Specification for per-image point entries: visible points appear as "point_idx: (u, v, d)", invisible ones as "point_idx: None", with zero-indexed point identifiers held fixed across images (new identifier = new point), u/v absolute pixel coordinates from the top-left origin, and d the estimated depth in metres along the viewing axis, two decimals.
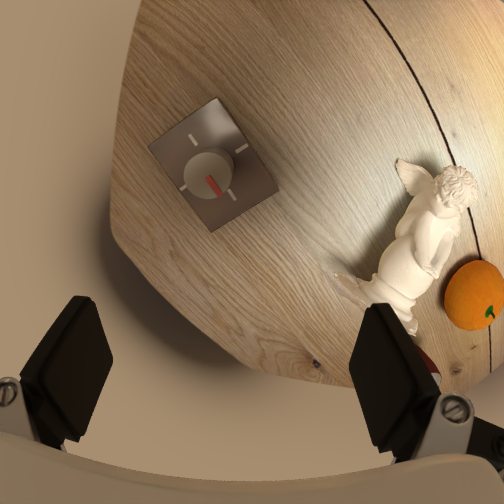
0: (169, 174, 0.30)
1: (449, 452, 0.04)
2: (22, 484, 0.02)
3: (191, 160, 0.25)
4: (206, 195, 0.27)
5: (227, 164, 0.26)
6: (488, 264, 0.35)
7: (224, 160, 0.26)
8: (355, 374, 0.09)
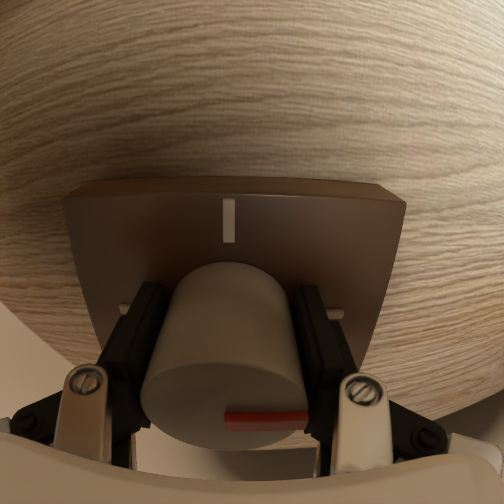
0: None
1: (372, 437, 0.05)
2: (22, 484, 0.02)
3: (151, 417, 0.07)
4: (275, 436, 0.07)
5: (226, 364, 0.06)
6: None
7: (204, 364, 0.06)
8: None
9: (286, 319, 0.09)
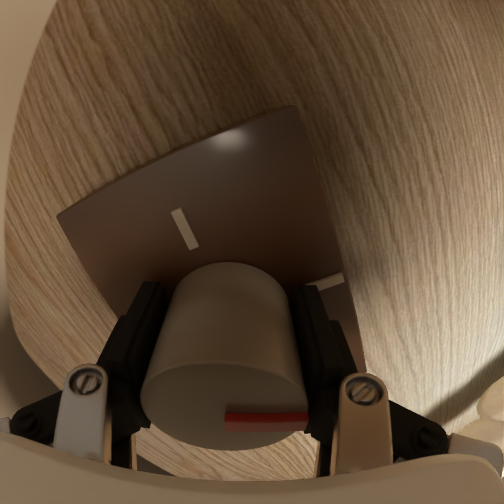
0: (109, 301, 0.11)
1: (372, 437, 0.05)
2: (22, 484, 0.02)
3: (150, 416, 0.07)
4: (274, 437, 0.07)
5: (228, 365, 0.06)
6: None
7: (207, 364, 0.06)
8: None
9: (287, 320, 0.09)
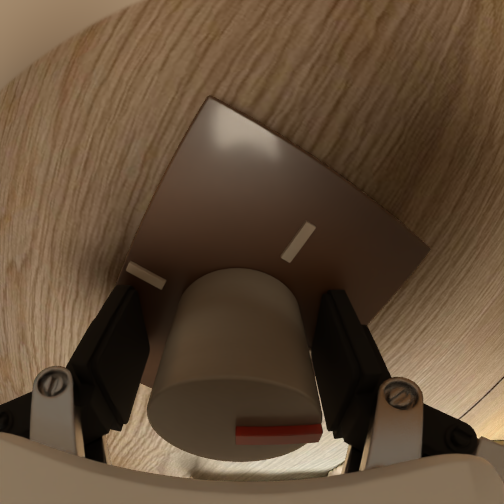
0: (151, 213, 0.09)
1: (403, 440, 0.05)
2: (22, 484, 0.02)
3: (158, 430, 0.07)
4: (287, 448, 0.07)
5: (239, 380, 0.06)
6: None
7: (216, 380, 0.06)
8: (315, 360, 0.10)
9: (299, 328, 0.08)
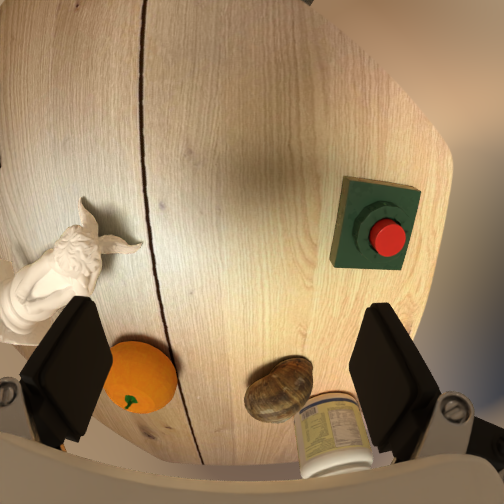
0: None
1: (449, 452, 0.04)
2: (22, 484, 0.02)
3: None
4: None
5: None
6: (155, 359, 0.37)
7: None
8: (355, 374, 0.09)
9: None
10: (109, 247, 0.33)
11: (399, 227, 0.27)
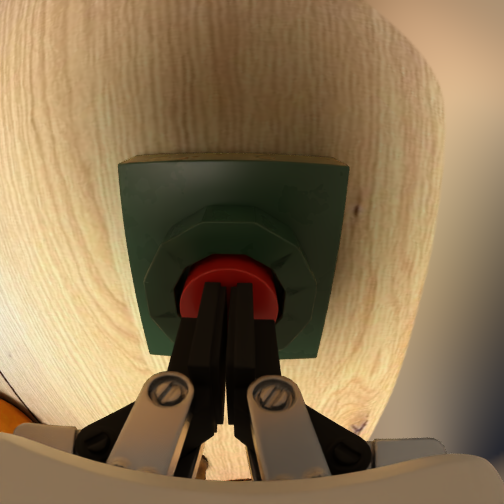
0: None
1: (295, 441, 0.05)
2: (22, 484, 0.02)
3: None
4: None
5: None
6: (3, 424, 0.19)
7: None
8: None
9: None
10: None
11: (246, 276, 0.10)
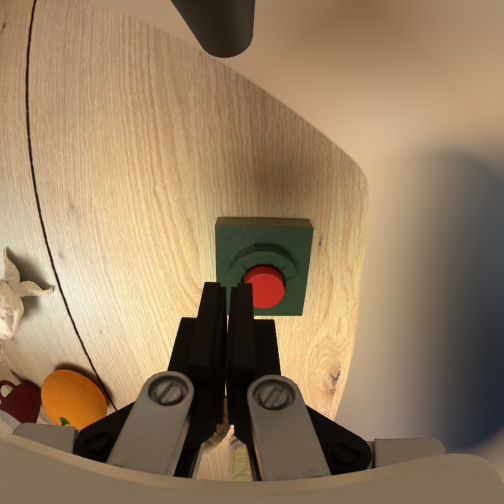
0: None
1: (295, 441, 0.05)
2: (22, 484, 0.02)
3: None
4: None
5: None
6: (80, 387, 0.35)
7: None
8: None
9: None
10: None
11: (272, 276, 0.26)
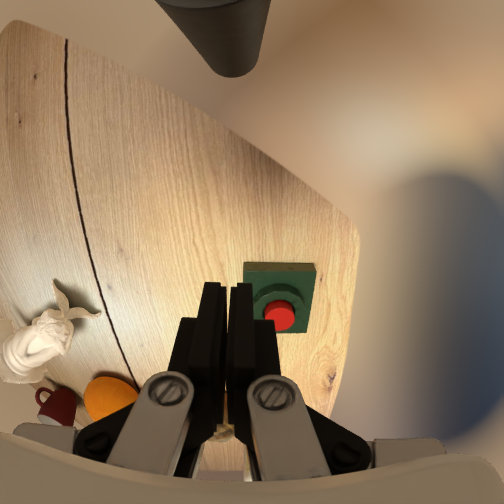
0: None
1: (295, 441, 0.05)
2: (22, 484, 0.02)
3: None
4: None
5: None
6: (121, 391, 0.45)
7: None
8: None
9: None
10: None
11: (286, 309, 0.35)
